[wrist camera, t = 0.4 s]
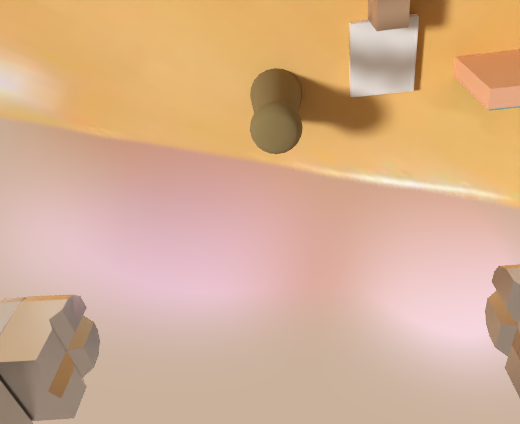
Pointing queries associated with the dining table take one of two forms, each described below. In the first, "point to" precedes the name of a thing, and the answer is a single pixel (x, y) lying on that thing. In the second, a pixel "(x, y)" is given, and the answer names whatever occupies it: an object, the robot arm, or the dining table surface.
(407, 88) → the blocks
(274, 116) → the cork
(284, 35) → the dining table surface
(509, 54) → the terracotta tile
